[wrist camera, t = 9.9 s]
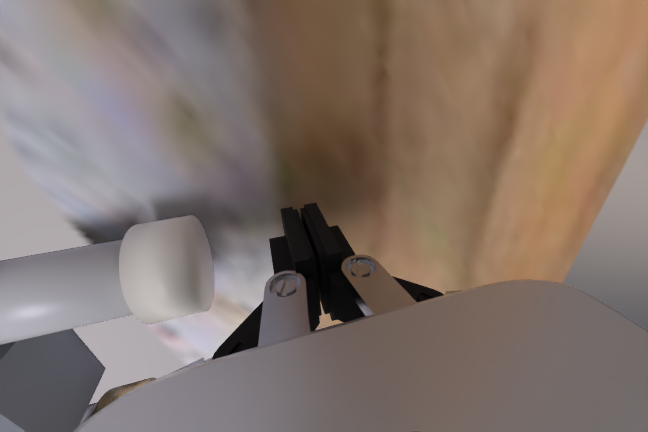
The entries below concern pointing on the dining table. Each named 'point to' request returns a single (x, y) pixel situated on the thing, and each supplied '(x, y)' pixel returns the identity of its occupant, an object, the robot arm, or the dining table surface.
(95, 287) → the light grey capped cylinder
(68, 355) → the mount
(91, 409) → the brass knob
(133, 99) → the dining table surface
